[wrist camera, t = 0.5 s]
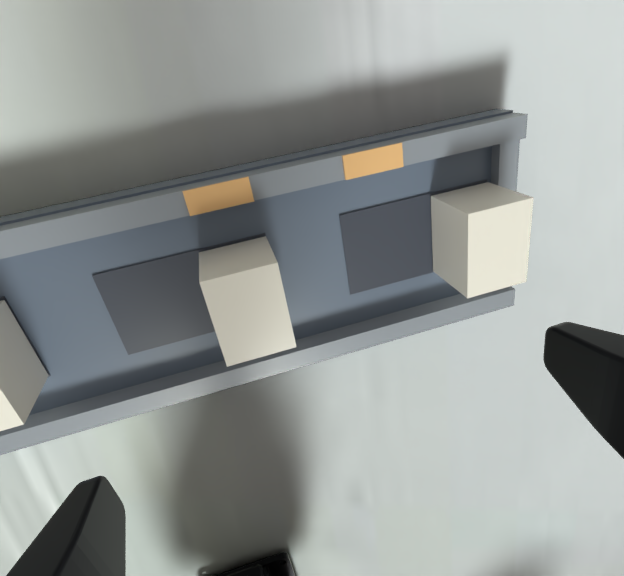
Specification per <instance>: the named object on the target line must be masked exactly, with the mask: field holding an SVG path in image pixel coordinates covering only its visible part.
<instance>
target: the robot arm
mask: <svg viewBox="0 0 624 576" xmlns="http://www.w3.org/2000/svg"><path fill="white" fill-rule="evenodd" d="M544 363H545V366H546V368H547V370H548V371H549V372H550V374H551V375H552V376H553V377H554V379H555V380H556V381H557V382H558V384H559V385H560V386H561V387H562V389H563V390H564V391H565V392H566V394H567V395H568V396H569V397H570V399H571V400H572V401H573V402H574V403H575V405H576V406H577V407H578V408H579V410H580V411H581V412H582V413H583V415H584V416H585V417H586V418H587V420H588V421H589V422H590V423H591V424H592V426H593V427H594V428H595V429H596V430H597V431H598V432H599V434H600V435H601V436H602V437H603V438H604V439H605V440H606V441H607V442H608V443H609V444H610V445H611V446H612V447H613V448H614V449H615V450H616V451H617V452H618V453H619V454H620V455H621V457H622V458H623V459H624V335H620V334H616V333H612V332H608V331H604V330H600V329H595V328H591V327H587V326H583V325H579V324H575V323H571V322H564V323H560V324H557V325H554V326H551V327H549V328H548V329H547V331H546V334H545V346H544ZM6 576H125V509H124V506H123V503H122V501H121V500H120V498H119V497H118V495H117V493H116V492H115V490H114V489H113V487H112V486H111V484H110V483H109V481H108V480H107V479H106V478H105V477H104V476H98V477H95V478H92V479H89V480H86V481H83V482H81V483H79V484H78V485H77V486H76V487H75V488H74V489H73V491H72V492H71V493H70V494H69V496H68V497H67V498H66V500H65V501H64V502H63V503H62V505H61V506H60V507H59V509H58V510H57V511H56V512H55V514H54V515H53V516H52V518H51V519H50V520H49V521H48V523H47V524H46V525H45V527H44V528H43V529H42V530H41V532H40V533H39V534H38V536H37V537H36V538H35V539H34V541H33V542H32V543H31V545H30V546H29V547H28V548H27V550H26V551H25V552H24V554H23V555H22V556H21V557H20V559H19V560H18V561H17V563H16V564H15V565H14V566H13V568H12V569H11V570H10V572H9V573H8V574H7V575H6ZM217 576H295V573H294V570H293V567H292V564H291V561H290V558H289V555H288V553H279V554H277V555H274V556H271V557H268V558H265V559H262V560H260V561H257V562H254V563H251V564H248V565H245V566H243V567H240V568H237V569H234V570H231V571H228V572H226V573H223V574H220V575H217Z"/></svg>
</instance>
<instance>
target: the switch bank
mask: <svg viewBox="0 0 624 576" xmlns="http://www.w3.org/2000/svg"><path fill="white" fill-rule="evenodd" d="M527 115H528V114H521V113H513V110H503V109H494V110H489V111H485V112H480V113H475V114H471V115H466V116H462V117H457V118H452V119H448V120H443V121H439V122H434V123H429V124H425V125H420V126H416V127H411V128H407V129H402V130H397V131H393V132H388V133H384V134H379V135H374V136H370V137H365V138H361V139H356V140H351V141H347V142H342V143H338V144H333V145H328V146H324V147H319V148H315V149H310V150H305V151H301V152H296V153H292V154H287V155H283V156H278V157H273V158H269V159H264V160H260V161H255V162H250V163H246V164H241V165H237V166H232V167H227V168H223V169H218V170H214V171H209V172H204V173H200V174H195V175H191V176H186V177H182V178H177V179H172V180H168V181H163V182H159V183H154V184H149V185H145V186H140V187H136V188H131V189H126V190H122V191H117V192H113V193H108V194H103V195H99V196H94V197H90V198H85V199H80V200H76V201H71V202H67V203H62V204H58V205H53V206H48V207H44V208H39V209H35V210H30V211H25V212H21V213H16V214H12V215H7V216H2V217H0V301H2V300H5V302H6V304H7V305H8V307H9V309H10V310H11V312H12V314H13V315H14V317H15V319H16V321H17V322H18V324H19V326H20V327H21V329H22V331H23V332H24V334H25V336H26V338H27V339H28V341H29V343H30V344H31V346H32V348H33V349H34V351H35V353H36V355H37V356H38V358H39V360H40V361H41V363H42V365H43V367H44V368H45V370H46V372H47V373H48V375H49V376H48V378H47V380H46V382H45V384H44V386H43V388H42V390H41V392H40V394H39V396H38V398H37V400H36V402H35V404H34V406H33V408H32V410H31V412H30V414H29V416H28V418H27V420H26V422H25V424H24V425H20V426H17V427H13V428H10V429H6V430H3V431H0V455H2V454H5V453H9V452H12V451H16V450H19V449H22V448H26V447H29V446H33V445H36V444H40V443H43V442H47V441H50V440H53V439H57V438H60V437H64V436H67V435H71V434H74V433H77V432H81V431H84V430H88V429H91V428H95V427H98V426H101V425H105V424H108V423H112V422H115V421H119V420H122V419H125V418H129V417H132V416H136V415H139V414H143V413H146V412H149V411H153V410H156V409H160V408H163V407H167V406H170V405H173V404H177V403H180V402H184V401H187V400H191V399H194V398H197V397H201V396H204V395H208V394H211V393H215V392H218V391H221V390H225V389H228V388H232V387H235V386H239V385H242V384H245V383H249V382H252V381H256V380H259V379H263V378H266V377H269V376H273V375H276V374H280V373H283V372H287V371H290V370H293V369H297V368H300V367H304V366H307V365H311V364H314V363H317V362H321V361H324V360H328V359H331V358H335V357H338V356H342V355H345V354H348V353H352V352H355V351H359V350H362V349H366V348H369V347H372V346H376V345H379V344H383V343H386V342H390V341H393V340H396V339H400V338H403V337H407V336H410V335H414V334H417V333H420V332H424V331H427V330H431V329H434V328H438V327H441V326H444V325H448V324H451V323H455V322H458V321H462V320H465V319H468V318H472V317H475V316H479V315H482V314H486V313H489V312H492V311H496V310H499V309H503V308H506V307H510V306H513V305H514V298H515V289H514V288H512V287H511V286H510V287H506V288H503V289H499V290H496V291H492V292H488V293H485V294H481V295H478V296H474V297H471V298H466V297H465V296H464V295H462V294H461V293H460V292H459V291H457V290H456V289H455V288H454V287H452V286H451V285H450V284H449V283H447V282H446V281H445V280H444V279H442V278H441V277H440V276H438V275H437V274H436V273H435V272H433V251H432V220H431V196H433V195H437V194H441V193H445V192H449V191H453V190H457V189H461V188H465V187H470V186H474V185H478V184H482V183H486V182H489V183H492V184H495V185H498V186H501V187H504V188H507V189H510V190H513V191H516V189H517V174H518V158H519V143H520V139H523V138H526V129H527ZM264 236H266V238H267V240H268V242H269V244H270V247H271V249H272V251H273V253H274V255H275V258H276V260H277V262H278V266H279V271H280V275H281V280H282V284H283V288H284V293H285V297H286V302H287V306H288V311H289V315H290V320H291V324H292V329H293V333H294V338H295V342H296V347H295V348H291V349H288V350H284V351H281V352H277V353H274V354H270V355H267V356H263V357H260V358H256V359H253V360H249V361H246V362H242V363H239V364H235V365H232V366H228V367H227V365H226V362H225V359H224V356H223V353H222V350H221V347H220V344H219V341H218V338H217V335H216V332H215V329H214V326H213V323H212V320H211V317H210V314H209V310H208V307H207V304H206V301H205V298H204V295H203V292H202V289H201V286H200V283H199V252H203V251H207V250H211V249H215V248H219V247H223V246H228V245H232V244H236V243H240V242H244V241H248V240H252V239H256V238H260V237H264Z"/></svg>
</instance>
